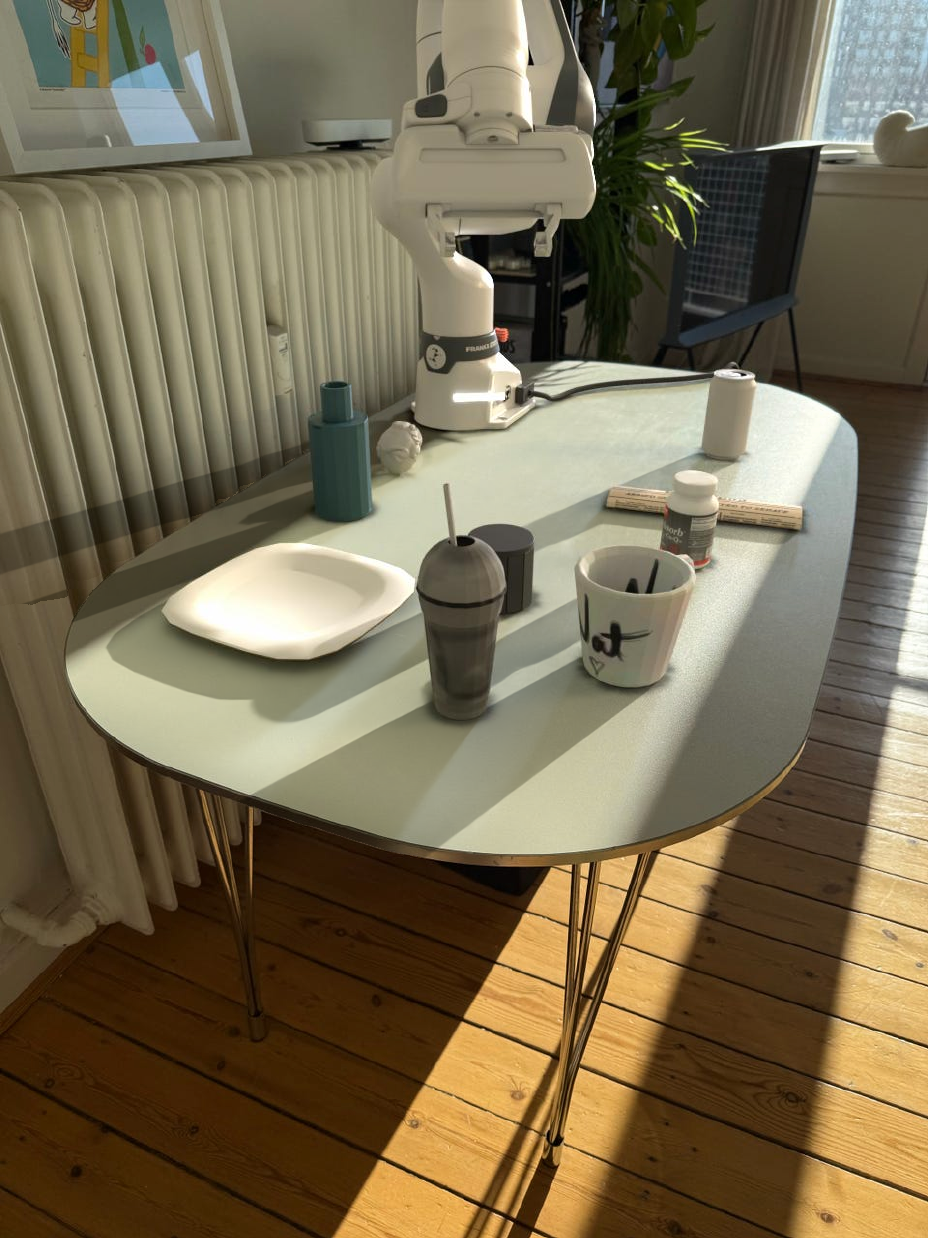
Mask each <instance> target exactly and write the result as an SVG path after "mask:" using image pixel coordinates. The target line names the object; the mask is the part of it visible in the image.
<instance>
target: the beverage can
mask: <svg viewBox="0 0 928 1238" xmlns="http://www.w3.org/2000/svg"><path fill="white" fill-rule="evenodd" d="M713 372H714V377H713V378H710V381H709V388H708V394H707V401H706V409H705V417H704V425H703V432H702V437H701V439H702V440H701V446H700V449H701V450H702V451H703V452H704V454H705V455H706V456H707V457H709V458H711V459H715V460H725V461H726V460H727V461H731V460H736V459H738V458H740V457H742V456H743V455H744V454H745V453H746V451H747V444H748V439H749V434H750V433H749V432H750V427H751V420H752V414H753V408H754V403H755V396H756V388H757V383H756V381H755V378H756V375H755V373H753V372H751V371H749V370H746V369H745V370H744V369H740V370H738V369H733V368H731V369H723V368H721V369H717V370H715V371H713Z"/></svg>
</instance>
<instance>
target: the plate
mask: <svg viewBox="0 0 928 1238" xmlns="http://www.w3.org/2000/svg"><path fill="white" fill-rule="evenodd" d="M415 584H416V578H414V577H412V576H411V575H410V574H409V573H407V572H406V571H405V570H404V569H403V568H400V567H398V566H394V565H392V564H389V563H387V562H384V561H381V560H377V559H375V558H374V559H373V558H371V557H366V556H363V555H360V554H356V553H351V552H347V551H344V550H340V549H336V548H331V547H327V546H321V545H318V544H317V545H316V544H310V543H304V542H278V543H274V544H270V545H265V546H262V547H258V548H254V549H252V550H250V551H248V552H245V553H243V554H240V555H237V556H236V557H234V558H232V559H230V560H228V561H227V562H225V563H223V564H221V565H219V566H217V567H215V568H214V569H212V570H210V571H209V572H207V573H205V574H203V575H202V576H200V577H198V578H196V579H195V580H193V581H190V582H189V583H188V584H186V585H185V586H184V587H182V588H181V589H179V590H178V591H176V592H175V593H174V594H172V595H171V596H169V598H168V599H167V601H166V602H165V604H164V606H163V608H162V609H161V614H162V615H163V616H164V618H165V619H166V621H167V623H169V625H171V626H172V627H175V628H177V629H179V630H181V631H183V632H185V633H188V634H189V635H191V636H193V637H197V638H200V639H202V640H205V641H208V642H211V643H214V644H216V645H219V646H223V647H225V648H229V649H232V650H234V651H237V652H241V653H244V654H247V655H251V656H256V657H260V658H264V659H269V660H274V661H278V662H310V661H314V660H316V659H320V658H323V657H327V656H329V655H334V654H336V653H338V652H340V651H342V650H344V649H345V648H347V647H348V646H350V645H352V644H353V643H355V642H357V641H358V640H360V639H361V638H363V637H364V636H366V635H367V634H368V633H370V632H371V631H372V630H373V629H375V628H376V627H377V626H379V625H380V624H381V623H383V622H384V621H385V620H386V619H387V618H389V617H391V616H392V614H394V613H395V612H396V611H397V610H399V609H400V608H401V607H402V606H403V605H404V604H405V603H406V602H407V601H408V600H409V599H410V597H412V596H413V594H414V591H415Z"/></svg>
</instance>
